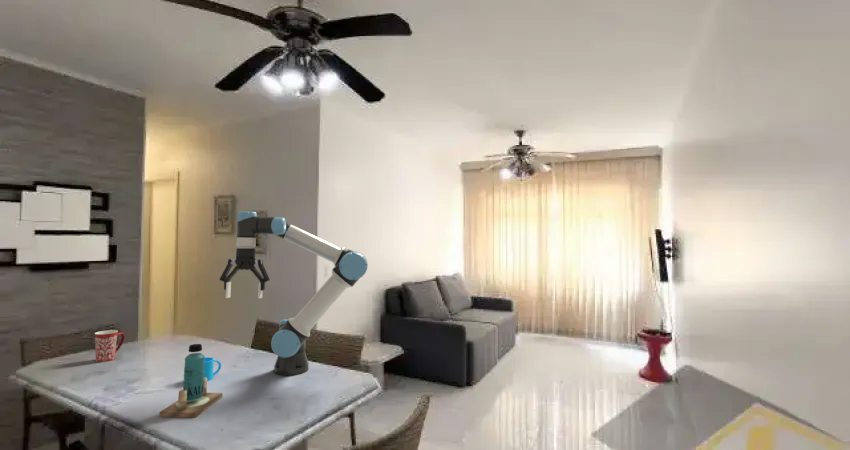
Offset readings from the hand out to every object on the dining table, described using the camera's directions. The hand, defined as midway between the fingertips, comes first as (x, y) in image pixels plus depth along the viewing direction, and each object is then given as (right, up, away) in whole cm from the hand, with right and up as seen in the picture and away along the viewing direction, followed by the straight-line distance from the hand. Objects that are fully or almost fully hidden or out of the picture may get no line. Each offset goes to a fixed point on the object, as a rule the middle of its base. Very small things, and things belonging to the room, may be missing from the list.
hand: (244, 298), depth 174 cm
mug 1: (-78, -35, +26) cm, 89 cm away
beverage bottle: (-6, -32, -28) cm, 43 cm away
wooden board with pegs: (-6, -33, -29) cm, 44 cm away
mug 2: (-17, -35, +1) cm, 39 cm away
